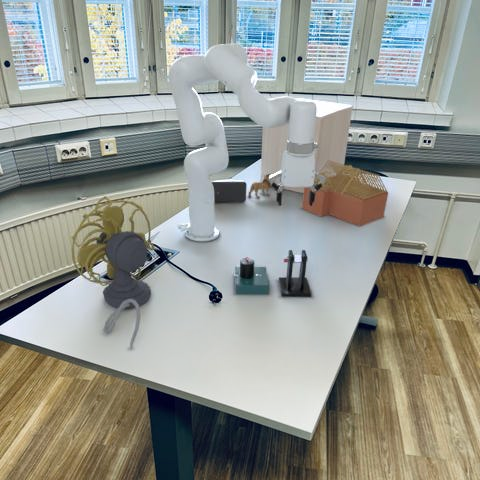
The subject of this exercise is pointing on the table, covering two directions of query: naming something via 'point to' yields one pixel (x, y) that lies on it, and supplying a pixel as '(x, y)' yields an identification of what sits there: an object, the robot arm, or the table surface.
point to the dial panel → (252, 282)
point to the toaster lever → (296, 258)
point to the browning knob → (246, 268)
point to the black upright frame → (295, 279)
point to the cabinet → (326, 136)
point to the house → (348, 195)
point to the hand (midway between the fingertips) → (294, 204)
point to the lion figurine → (261, 186)
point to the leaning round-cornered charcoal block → (229, 191)
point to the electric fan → (116, 259)
